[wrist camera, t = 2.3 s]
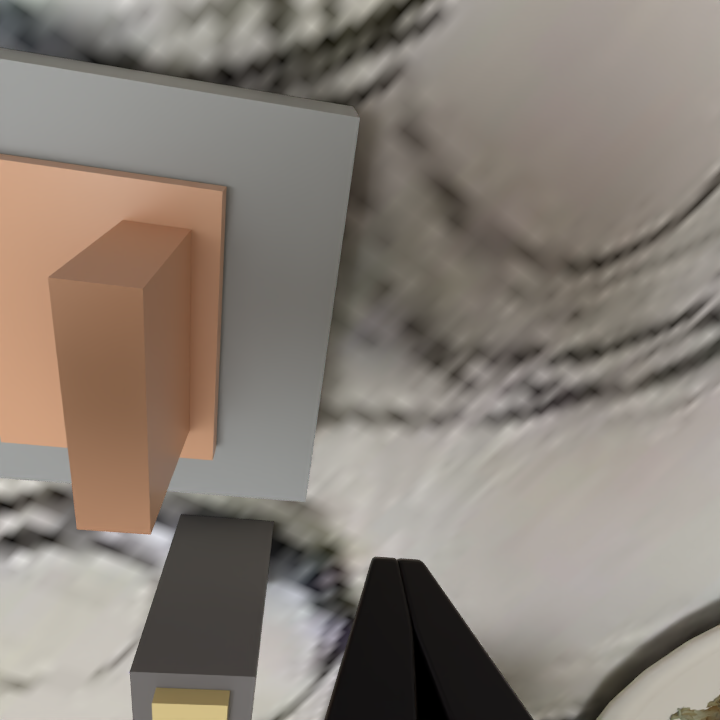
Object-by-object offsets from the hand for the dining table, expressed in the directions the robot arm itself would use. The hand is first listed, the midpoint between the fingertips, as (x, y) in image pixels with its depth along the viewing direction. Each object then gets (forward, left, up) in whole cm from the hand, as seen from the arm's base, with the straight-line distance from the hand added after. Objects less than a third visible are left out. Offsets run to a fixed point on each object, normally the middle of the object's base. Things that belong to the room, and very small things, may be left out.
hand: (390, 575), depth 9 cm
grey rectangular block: (+4, +13, -12) cm, 18 cm away
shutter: (+7, 0, -8) cm, 11 cm away
